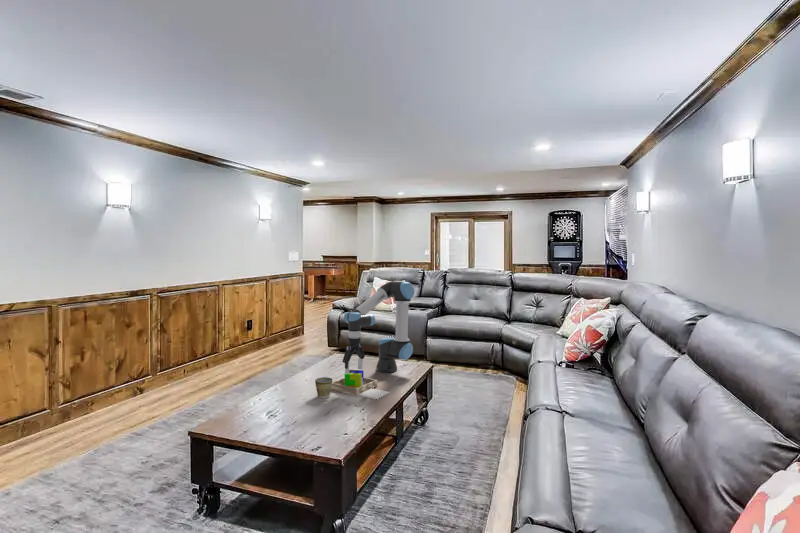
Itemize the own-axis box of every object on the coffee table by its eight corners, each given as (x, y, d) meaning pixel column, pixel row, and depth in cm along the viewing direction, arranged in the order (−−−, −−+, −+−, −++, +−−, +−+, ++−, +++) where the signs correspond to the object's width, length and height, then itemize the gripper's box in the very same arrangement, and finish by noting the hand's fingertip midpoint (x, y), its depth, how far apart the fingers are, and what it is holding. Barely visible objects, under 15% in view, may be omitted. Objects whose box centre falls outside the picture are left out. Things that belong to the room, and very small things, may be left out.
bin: (350, 381, 285) (350, 375, 285) (377, 386, 275) (377, 380, 275) (330, 389, 267) (330, 383, 267) (357, 395, 257) (357, 388, 256)
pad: (371, 389, 267) (371, 388, 267) (389, 393, 261) (389, 391, 261) (359, 395, 256) (359, 394, 256) (377, 399, 249) (377, 398, 249)
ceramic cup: (328, 399, 249) (328, 382, 248) (312, 398, 251) (312, 381, 250) (336, 392, 261) (336, 376, 261) (320, 391, 263) (320, 375, 263)
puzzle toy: (363, 385, 275) (363, 370, 275) (360, 390, 266) (360, 374, 265) (348, 385, 276) (348, 369, 276) (344, 390, 266) (344, 374, 266)
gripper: (361, 333, 283) (360, 366, 283) (336, 339, 261) (336, 374, 262) (370, 335, 279) (370, 367, 279) (346, 341, 257) (346, 376, 258)
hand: (353, 371), depth 270 cm, fingers open, 13 cm apart
